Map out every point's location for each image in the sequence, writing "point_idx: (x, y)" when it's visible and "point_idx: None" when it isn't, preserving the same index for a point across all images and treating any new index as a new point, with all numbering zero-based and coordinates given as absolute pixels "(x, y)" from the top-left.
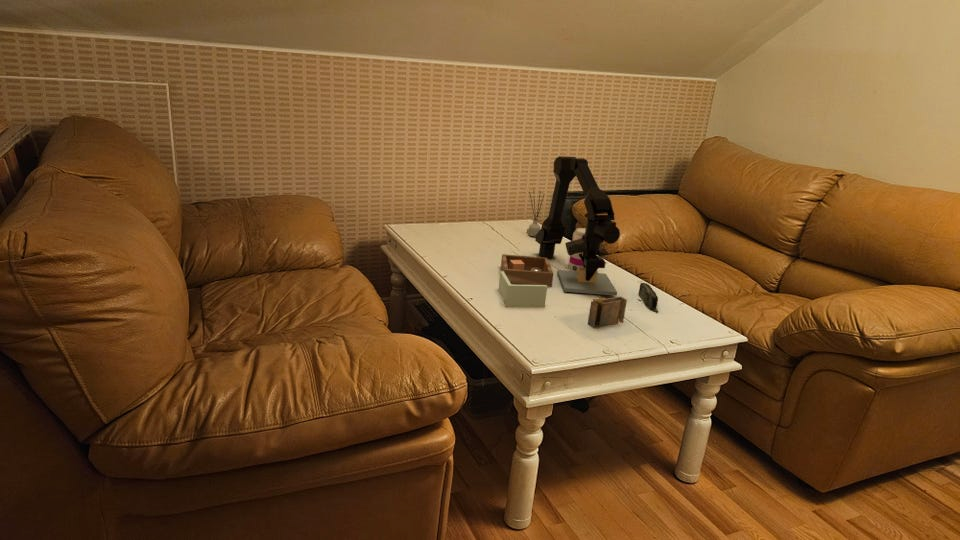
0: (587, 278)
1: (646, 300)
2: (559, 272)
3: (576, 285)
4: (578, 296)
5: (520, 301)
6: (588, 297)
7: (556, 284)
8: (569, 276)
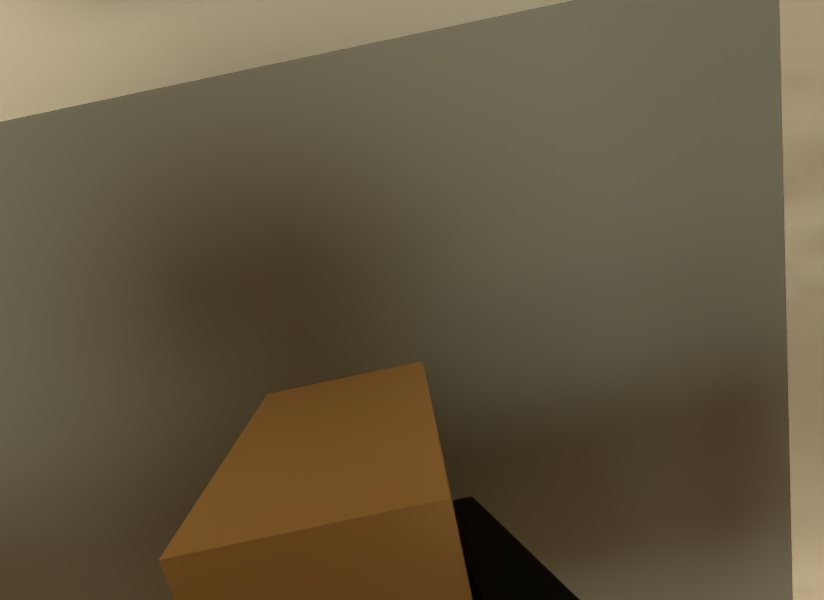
0: None
1: None
2: (620, 11)
3: (44, 378)
4: None
5: None
6: None
7: (329, 41)
8: (464, 231)
